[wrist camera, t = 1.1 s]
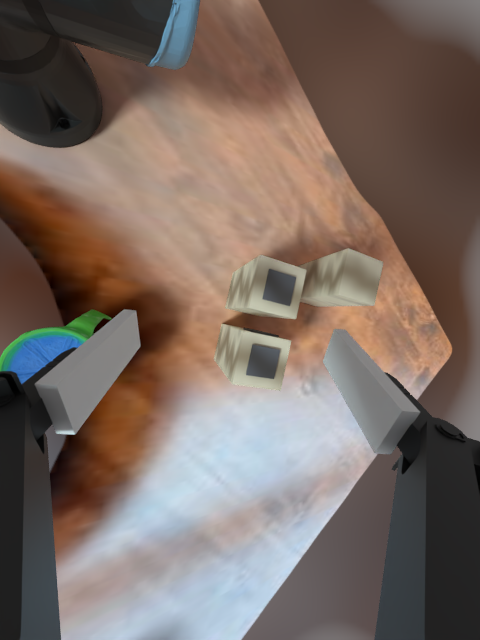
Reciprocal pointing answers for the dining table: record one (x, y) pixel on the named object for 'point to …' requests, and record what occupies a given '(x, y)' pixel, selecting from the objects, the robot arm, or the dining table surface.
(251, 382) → the marked block 2
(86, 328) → the snack cup
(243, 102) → the dining table surface
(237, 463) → the dining table surface
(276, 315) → the marked block 1
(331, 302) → the plain block
